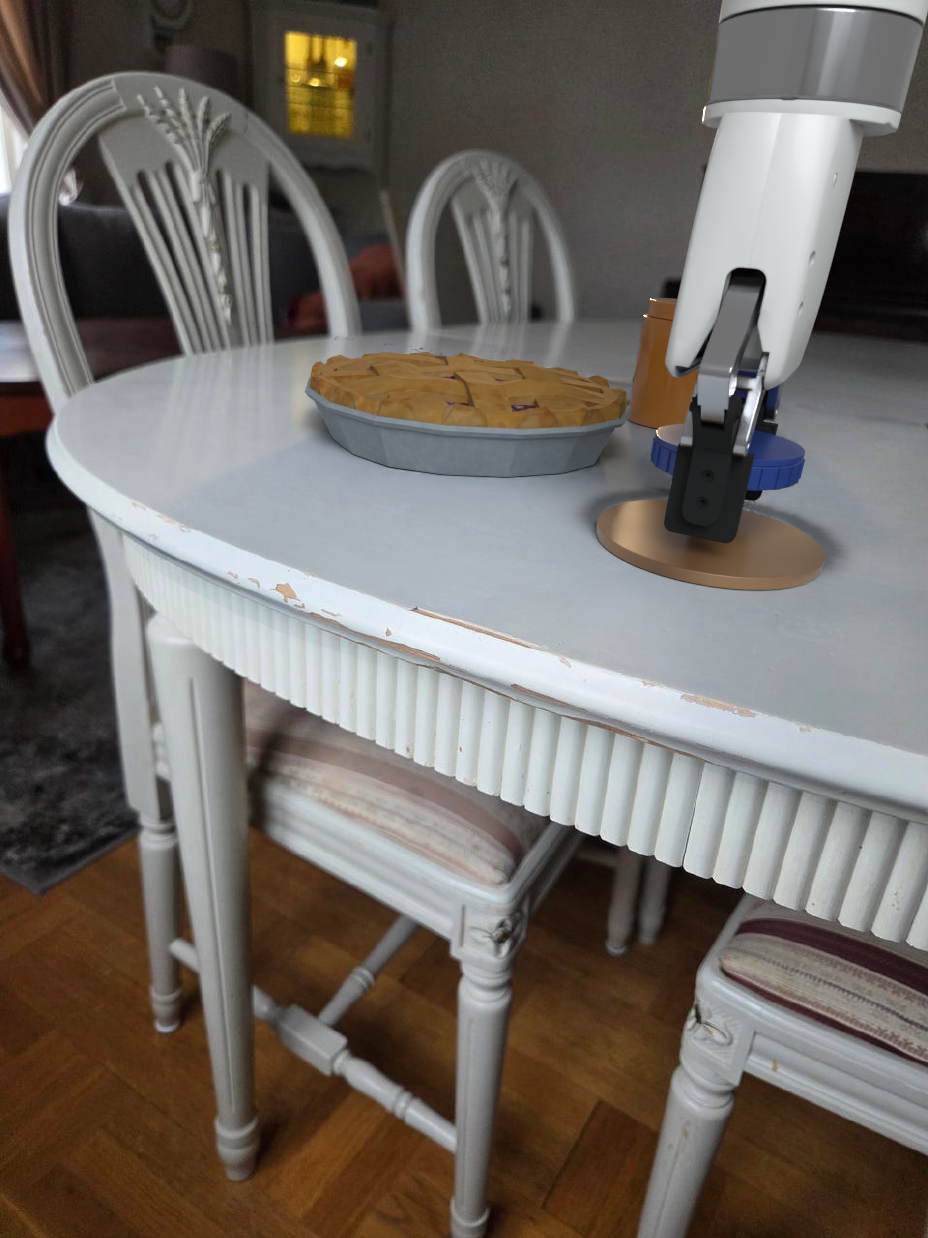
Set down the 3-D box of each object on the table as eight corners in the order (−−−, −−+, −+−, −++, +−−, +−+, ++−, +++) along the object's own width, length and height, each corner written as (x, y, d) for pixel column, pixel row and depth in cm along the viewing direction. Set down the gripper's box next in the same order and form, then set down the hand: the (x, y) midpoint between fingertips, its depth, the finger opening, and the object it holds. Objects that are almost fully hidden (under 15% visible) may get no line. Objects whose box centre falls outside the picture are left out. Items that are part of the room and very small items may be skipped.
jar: (710, 421, 69) (734, 304, 65) (694, 434, 64) (719, 308, 60) (638, 409, 71) (657, 295, 67) (617, 421, 66) (636, 299, 62)
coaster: (831, 538, 44) (834, 527, 44) (810, 611, 35) (814, 598, 34) (630, 496, 48) (632, 486, 48) (565, 553, 39) (566, 541, 39)
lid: (632, 471, 38) (636, 441, 38) (670, 442, 44) (674, 416, 43) (788, 501, 36) (796, 469, 35) (807, 466, 41) (814, 439, 41)
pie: (682, 483, 51) (698, 402, 49) (328, 489, 45) (328, 395, 43) (551, 406, 70) (559, 344, 68) (288, 402, 64) (287, 334, 61)
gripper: (745, 113, 41) (679, 462, 49) (657, 42, 27) (585, 549, 35) (909, 116, 39) (812, 486, 46) (907, 40, 24) (768, 592, 32)
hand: (715, 510), depth 41 cm, fingers closed on lid, 6 cm apart
